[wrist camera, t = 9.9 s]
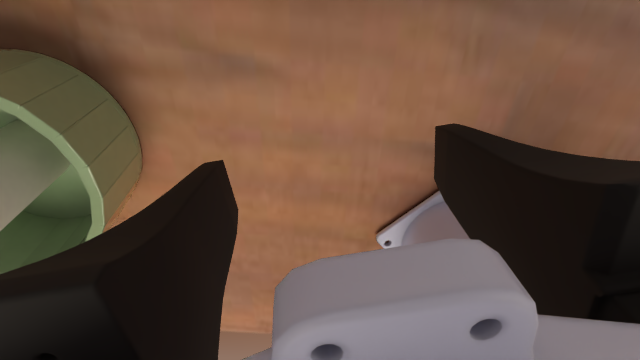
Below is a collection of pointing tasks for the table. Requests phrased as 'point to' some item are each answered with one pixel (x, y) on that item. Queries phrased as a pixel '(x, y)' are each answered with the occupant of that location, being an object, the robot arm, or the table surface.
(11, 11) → the table surface
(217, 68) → the table surface
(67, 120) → the holder
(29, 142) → the white canister
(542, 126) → the table surface
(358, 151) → the table surface
